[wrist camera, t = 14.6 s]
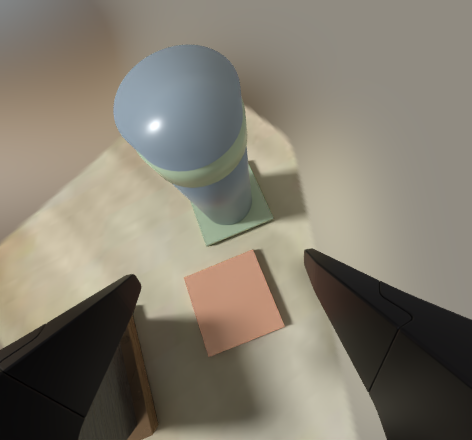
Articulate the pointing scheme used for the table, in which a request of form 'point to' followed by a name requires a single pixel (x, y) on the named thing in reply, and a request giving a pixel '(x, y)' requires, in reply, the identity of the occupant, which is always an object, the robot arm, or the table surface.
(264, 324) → the terracotta pad
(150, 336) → the table surface
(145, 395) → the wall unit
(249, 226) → the sage pad
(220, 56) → the cartridge
